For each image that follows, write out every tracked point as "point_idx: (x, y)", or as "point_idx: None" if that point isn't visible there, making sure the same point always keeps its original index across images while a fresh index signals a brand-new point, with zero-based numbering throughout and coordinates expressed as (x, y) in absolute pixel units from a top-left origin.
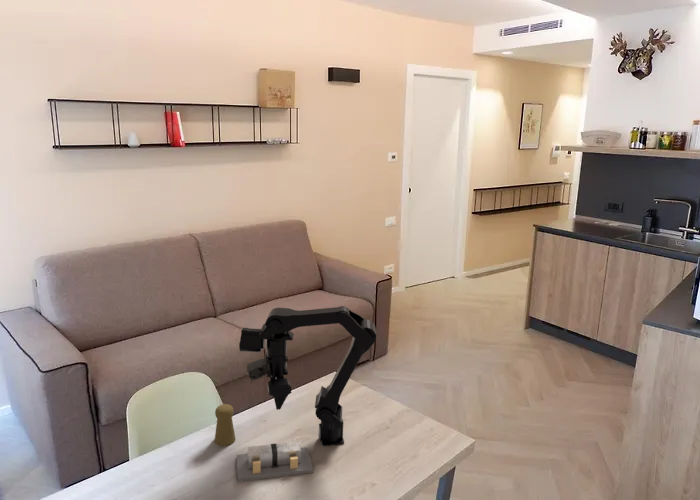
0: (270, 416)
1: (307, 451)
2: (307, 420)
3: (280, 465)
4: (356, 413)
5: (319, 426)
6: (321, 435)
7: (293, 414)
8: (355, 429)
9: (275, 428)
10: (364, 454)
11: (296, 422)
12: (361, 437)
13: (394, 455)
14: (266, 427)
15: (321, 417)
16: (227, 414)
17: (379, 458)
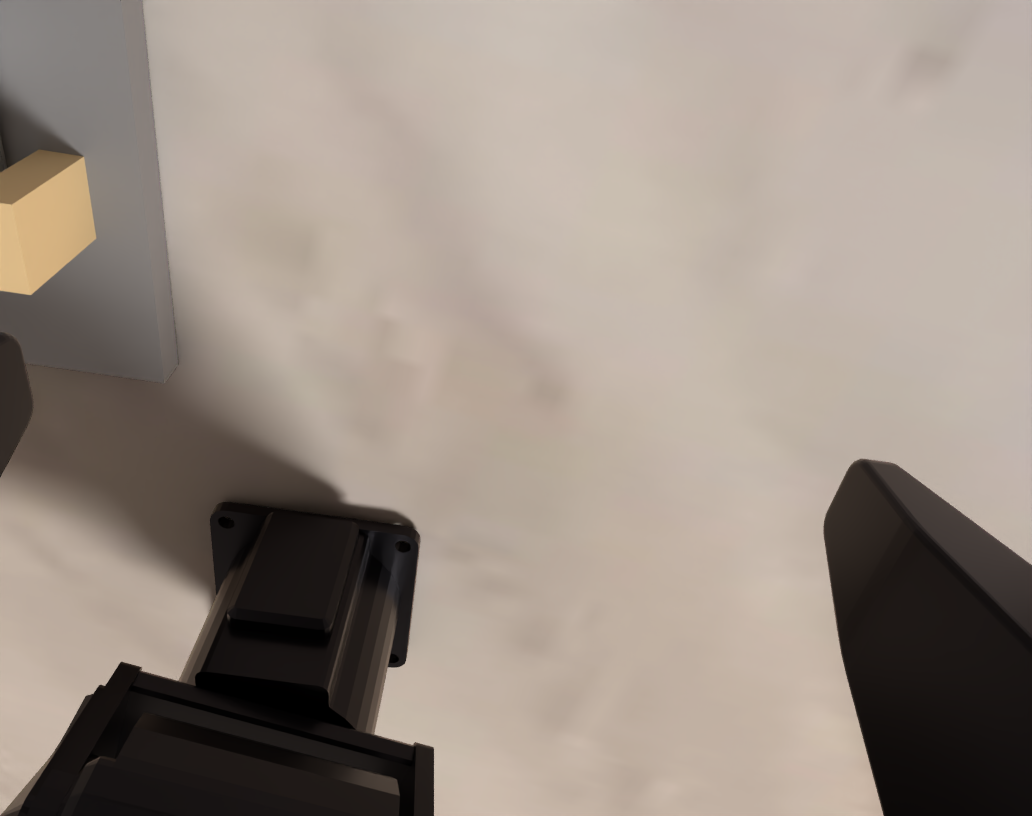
0: (977, 165)
1: (80, 363)
2: (672, 502)
3: None
4: (599, 795)
5: (289, 609)
6: (252, 556)
7: (850, 419)
8: (400, 735)
9: (679, 155)
10: (82, 689)
11: (687, 404)
12: None
13: None
14: (757, 41)
15: (43, 776)
16: None
17: (33, 737)
